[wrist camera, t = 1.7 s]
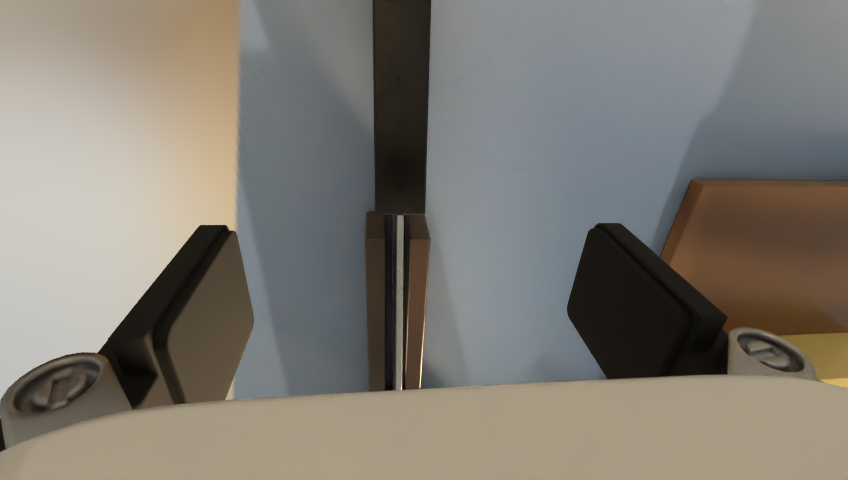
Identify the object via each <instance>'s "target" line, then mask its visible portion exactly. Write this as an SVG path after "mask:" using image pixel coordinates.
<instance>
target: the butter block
mask: <svg viewBox="0 0 848 480" xmlns="http://www.w3.org/2000/svg"><path fill="white" fill-rule="evenodd" d="M779 337H781V338H783V339H785V340H787V341H789V342H790V343H792V344H794V345H795V346H796V347H798V348H799V349H800V350H802V351H803V352H804V353H805V354H806V355H807V356H808V357H809V358H810V359H811V361H812V363H813V365H814V367H815V370H816V375H817V379H818V380H820V381H822V382H825V383H828V384H832V385H836V386H841V387H845V388H848V333H826V334H803V335H781V336H779Z"/></svg>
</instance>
